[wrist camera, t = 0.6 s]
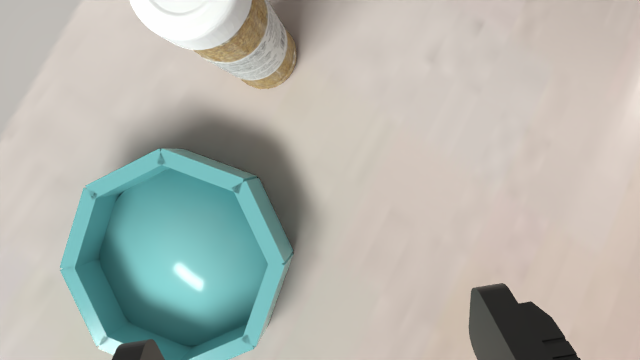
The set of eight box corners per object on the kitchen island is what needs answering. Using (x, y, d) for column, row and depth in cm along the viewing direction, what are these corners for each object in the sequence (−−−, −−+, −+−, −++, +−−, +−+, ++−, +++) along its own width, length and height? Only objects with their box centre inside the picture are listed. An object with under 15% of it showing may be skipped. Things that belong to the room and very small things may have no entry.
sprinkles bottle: (233, 23, 29) (119, -87, 16) (299, 22, 29) (239, -93, 15) (232, 91, 29) (121, 39, 16) (298, 91, 29) (239, 37, 16)
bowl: (233, 122, 30) (216, 119, 26) (319, 305, 30) (313, 323, 26) (66, 206, 31) (32, 212, 28) (148, 378, 31) (123, 403, 28)
